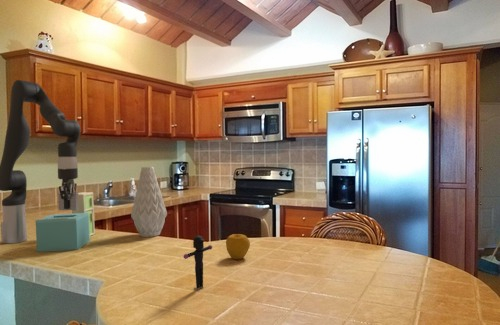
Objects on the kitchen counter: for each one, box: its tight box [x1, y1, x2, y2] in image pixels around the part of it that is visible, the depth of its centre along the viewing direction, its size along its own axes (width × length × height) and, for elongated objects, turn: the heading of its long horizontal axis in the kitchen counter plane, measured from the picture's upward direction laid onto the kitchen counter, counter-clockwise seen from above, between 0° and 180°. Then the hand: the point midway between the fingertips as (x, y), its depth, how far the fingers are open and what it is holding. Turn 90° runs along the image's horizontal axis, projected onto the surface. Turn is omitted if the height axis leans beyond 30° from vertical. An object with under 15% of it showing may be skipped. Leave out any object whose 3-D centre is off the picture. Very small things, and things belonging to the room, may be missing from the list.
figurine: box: [183, 235, 213, 291], centre depth 107 cm, size 12×4×15 cm, turn 149°
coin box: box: [35, 212, 91, 253], centre depth 164 cm, size 16×16×13 cm
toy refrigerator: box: [71, 191, 96, 237], centre depth 184 cm, size 8×7×21 cm
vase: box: [130, 166, 168, 238], centre depth 181 cm, size 17×17×33 cm
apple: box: [225, 233, 251, 260], centre depth 137 cm, size 8×8×9 cm
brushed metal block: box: [57, 192, 79, 211], centre depth 160 cm, size 7×3×7 cm, turn 96°
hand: (68, 208), depth 160 cm, fingers closed on brushed metal block, 3 cm apart
